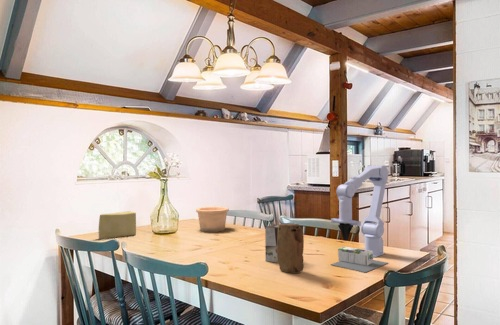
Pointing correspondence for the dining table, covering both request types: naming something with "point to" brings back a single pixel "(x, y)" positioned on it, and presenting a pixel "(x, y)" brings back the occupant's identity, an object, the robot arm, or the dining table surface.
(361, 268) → the mat
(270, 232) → the coffee box
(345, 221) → the robot arm
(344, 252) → the syrup box
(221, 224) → the pottery
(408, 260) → the dining table surface
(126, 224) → the cheese
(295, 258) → the block
